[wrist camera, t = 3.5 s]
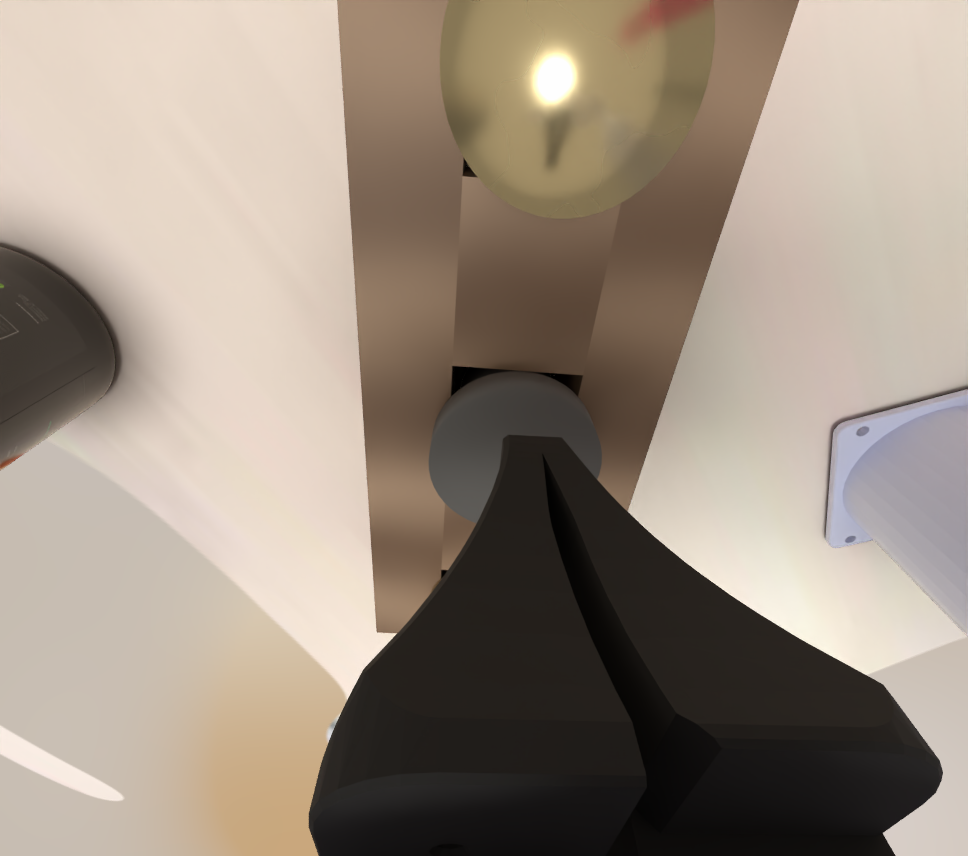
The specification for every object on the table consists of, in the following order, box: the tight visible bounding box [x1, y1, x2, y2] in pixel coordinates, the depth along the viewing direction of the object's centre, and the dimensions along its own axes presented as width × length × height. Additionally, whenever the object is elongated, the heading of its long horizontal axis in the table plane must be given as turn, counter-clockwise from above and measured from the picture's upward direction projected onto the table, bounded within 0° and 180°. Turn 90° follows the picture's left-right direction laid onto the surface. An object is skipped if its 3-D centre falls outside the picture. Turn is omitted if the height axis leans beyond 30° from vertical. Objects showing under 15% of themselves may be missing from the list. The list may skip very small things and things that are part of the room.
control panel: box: [337, 0, 799, 633], centre depth 18 cm, size 24×10×4 cm, turn 175°
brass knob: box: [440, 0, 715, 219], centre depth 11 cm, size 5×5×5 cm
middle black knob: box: [428, 367, 602, 524], centre depth 16 cm, size 5×5×5 cm
